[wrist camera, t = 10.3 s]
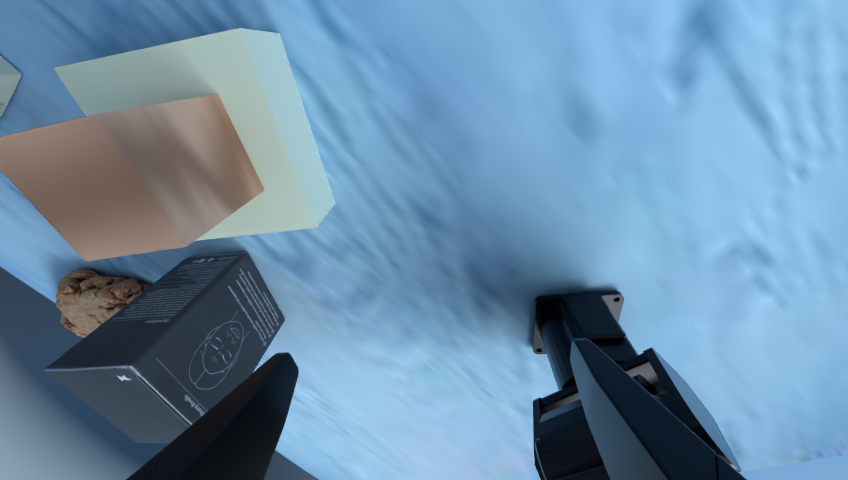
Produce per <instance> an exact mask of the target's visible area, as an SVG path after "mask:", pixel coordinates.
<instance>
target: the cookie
mask: <svg viewBox="0 0 848 480" xmlns="http://www.w3.org/2000/svg"><path fill="white" fill-rule="evenodd" d="M149 287H150V285H149V284H144V283H140V281H138V280H136V279H131V278H129V279H128V278H126V277H112V276H110V277H109V276H100V275H97V273H96V272H95V271H93V270H89V269H78V270H76V271H74V272H73V273H70V274H69V275H67V276H66V277H65V278H64V279H63V280H61V282H60V283H59V284H58V292H57V294H56V298H57V302H56V306H57V307H58V309H59V310H60V311H61V312H62V316H61V323H62V324H63V325H64V327H65V328H67V329H68V330H71V331H72V332H74V333H75V334H76V335H77V336H81V337H83V338H85V337H86V336H87V335H89V334H90V333H91V332H93V331H94V330H95V329H97V328H98V327H99V326H100V325H101V324H103V323H104V322H106V321H107V320H108V319H109V318H111V317H112V316H113V315H114V314H116V313H117V312H118V311H120V310H121V309H122V308H123V307H125V306H126V305H127V304H129V303H130V302H131V301H132V300H134V299H135V298H136V297H137V296H139V295H140V294H141V293H143V292H144V291H145V290H146V289H148V288H149Z"/></svg>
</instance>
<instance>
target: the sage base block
mask: <svg viewBox="0 0 848 480" xmlns="http://www.w3.org/2000/svg"><path fill="white" fill-rule="evenodd" d="M53 69H54V70H55V72H56V73H57V75H58V76H59V78H60V79H61V81H62V82H63V84H64V85H65V87H66V88H67V90H68V91H69V92H70V94H71V95H72V97H73V98H74V100H75V101H76V103H77V104H78V106H79V107H80V109H81V110H82V112H83V113H84V114H85V116H90V115H94V114H100V113H106V112H112V111H118V110H124V109H130V108H136V107H142V106H148V105H155V104H161V103H167V102H173V101H179V100H185V99H191V98H197V97H203V96H209V95H215V94H218V95H219V97H220V99H221V101H222V103H223V105H224V107H225V109H226V111H227V113H228V115H229V117H230V119H231V122H232V124H233V126H234V128H235V130H236V132H237V134H238V136H239V138H240V140H241V142H242V144H243V146H244V148H245V150H246V152H247V154H248V156H249V158H250V160H251V163H252V165H253V167H254V169H255V171H256V173H257V175H258V177H259V179H260V181H261V183H262V185H263V187H264V189H265V190H264V191H263V192H261V193H260V194H259V195H257V196H256V197H255V198H253V199H252V200H250V201H249V202H248V203H246V204H245V205H244V206H242V207H241V208H239V209H238V210H237V211H235V212H234V213H233V214H231V215H230V216H228V217H227V218H226V219H224V220H223V221H222V222H220V223H219V224H218V225H216V226H215V227H213V228H212V229H211V230H209V231H208V232H207V233H205V234H204V235H202V236H201V237H200V238H198V239H197V240H196V241H199V240H208V239H217V238H227V237H236V236H245V235H255V234H264V233H273V232H283V231H292V230H301V229H311V228H317V227H318V225H319V224H320V223H321V221H322V220H323V219H324V217H325V216H326V215H327V214H328V212H329V211H330V210H331V208H332V207H333V206H334V205H335V200H334V197H333V194H332V191H331V188H330V185H329V182H328V179H327V176H326V173H325V170H324V167H323V164H322V161H321V158H320V155H319V152H318V149H317V146H316V143H315V139H314V136H313V133H312V130H311V127H310V124H309V121H308V118H307V115H306V112H305V109H304V106H303V103H302V100H301V97H300V94H299V91H298V88H297V85H296V82H295V79H294V76H293V73H292V70H291V67H290V64H289V61H288V58H287V55H286V52H285V49H284V46H283V43H282V40H281V37H280V34H279V33H274V32H266V31H259V30H252V29H245V28H237V29H232V30H227V31H223V32H218V33H213V34H209V35H204V36H199V37H195V38H190V39H185V40H181V41H176V42H171V43H167V44H162V45H158V46H153V47H148V48H144V49H139V50H134V51H130V52H125V53H120V54H116V55H111V56H106V57H102V58H97V59H92V60H88V61H83V62H78V63H74V64H69V65H64V66H60V67H55V68H53Z"/></svg>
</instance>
